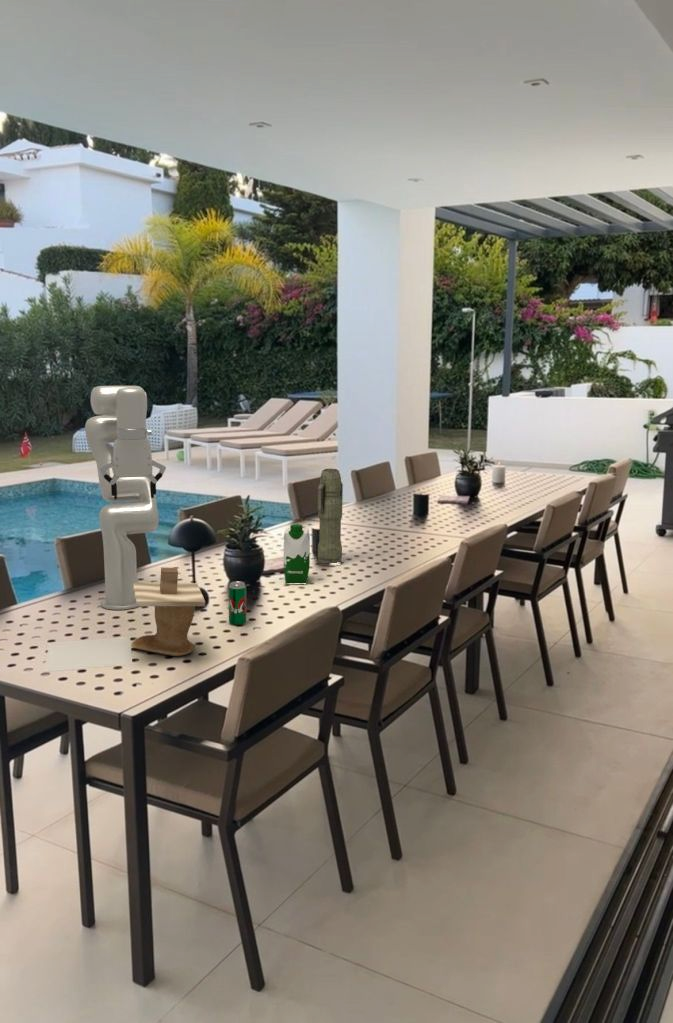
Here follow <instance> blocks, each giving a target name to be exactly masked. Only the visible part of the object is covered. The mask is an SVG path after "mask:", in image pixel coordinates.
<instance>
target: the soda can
mask: <svg viewBox="0 0 673 1023" xmlns="http://www.w3.org/2000/svg"><path fill="white" fill-rule="evenodd" d="M245 584H246V583H245V582H244V581H236V580H235V581H232V582H229V586H228V587H227V589H228V590H227V591H228V592H227V593H228V623H229V624H230V625H232V626H243V625H245V624H246V623H247V585H245Z"/></svg>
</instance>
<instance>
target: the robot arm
mask: <svg viewBox="0 0 673 1023" xmlns="http://www.w3.org/2000/svg"><path fill="white" fill-rule="evenodd" d="M90 406H91V409H92V412H93V413H94V414H95V415H96V416H93V417H89V418H88V419H87V420H86V422H85V423H84V424H85V425H84V434H85V438H86V441H87V442H86V443H87V445H88V448H89V450H90V452H91V454H92V455H93V458H94V461H95V463H96V468H97V469H96V470H97V477H98V483H99V490H100V494H101V497H102V498H103V501H106V502H107V503H108V502H109V503H110V504H106V505H105V506H104V505H103V507H101V509H100V511H99V514H98V516H99V517H98V519H99V526H100V531H101V536H102V544H103V546H102V547H103V561H104V562H103V563H104V564H103V565H104V582H105V583H104V585H105V586H104V589H105V598H103V599H101V601H100V606H101V607H102V608H104V609H107V610H114V611H116V610H117V611H118V610H119V611H121V610H122V611H123V610H130V609H135V608H138V607H139V606H136V601H135V596H134V590H133V582H136V583H138V576H137V575H138V572H137V549H136V546H135V544H134V543H133V542H132V540H131V539H130V538H129V537H128V536H127V535H134V534H144V533H146V534H148V533H152V532H154V531H156V530H157V529H158V528H159V523H160V520H159V518H160V517H159V511H158V505H157V504H158V503H157V498H156V495H157V482H159V480H161V478H162V477H163V475H164V473H165V471H166V469H167V467H166V465H164V464H162V463H160V462H157V461H155V460H153V457H152V456H153V455H152V448H151V443H150V442H151V441H150V439H149V438H147V437H148V436H152V435H153V434H152V433H153V432H152V429H148V428H147V411H148V396H147V392H146V391H145V390H144V388H142V386H139V385H98V386H95V387H93V389H92V390H91V393H90ZM111 443H113V445H111ZM153 467H155V468H157V469H159V471H158V473H157V474H156V475H155V476H154V474H153Z"/></svg>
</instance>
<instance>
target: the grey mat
mask: <svg viewBox="0 0 673 1023" xmlns="http://www.w3.org/2000/svg"><path fill="white" fill-rule="evenodd" d="M131 643H132V642H131V636H122V637H121V636H119V637H110V638H96V639H95V638H94V639H83V640H82V639H81V640H80V639H79V640H69V641H68V640H67V641H56V642H55V641H54V642H48V648H47V652H46V658H45V664H44V669H43V672H44V673H47V672H59V671H68V670H69V671H71V670H83V669H94V668H95V669H96V668H108V667H119V666H132V665H133V655H132V654H133V653H132V644H131Z"/></svg>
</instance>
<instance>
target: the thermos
mask: <svg viewBox="0 0 673 1023" xmlns="http://www.w3.org/2000/svg"><path fill="white" fill-rule="evenodd" d="M319 478H320V479H319V484H318V487H317V513H318V514H317V516H318V519H319V529H318V531H319V532H318V533H319V540H318V545H317V557H318V558H317V559H318V560H317V562H318V561H319V562H322V563H337V562H341V563H342V558H343V546H342V542H341V540H342V539H341V536H342V528H341V526H342V518H343V495H344V494H343V492H344V491H343V488H344V486H343V485H344V484H343V482H342V477H341V473H340V470H338V469H336V468H324V469H323V470H322V471H321V473H320V477H319Z"/></svg>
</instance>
